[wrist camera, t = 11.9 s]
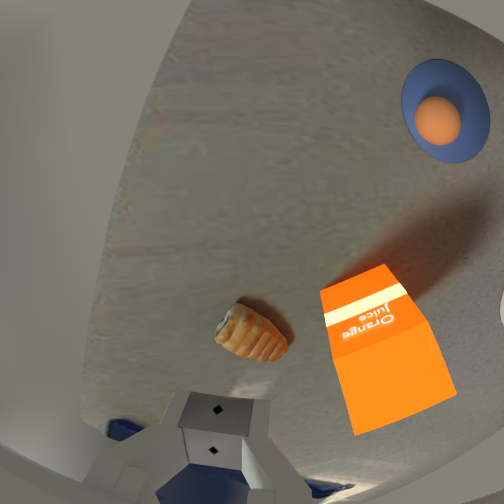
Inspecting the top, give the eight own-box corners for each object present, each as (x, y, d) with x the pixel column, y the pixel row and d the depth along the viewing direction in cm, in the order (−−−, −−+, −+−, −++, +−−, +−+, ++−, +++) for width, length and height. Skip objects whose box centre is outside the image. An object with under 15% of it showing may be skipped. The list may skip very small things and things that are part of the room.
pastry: (298, 329, 41) (298, 346, 38) (271, 364, 44) (270, 381, 40) (235, 296, 41) (230, 310, 37) (212, 333, 43) (205, 349, 39)
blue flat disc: (487, 74, 28) (488, 74, 28) (486, 170, 32) (487, 170, 32) (400, 49, 29) (401, 49, 29) (399, 154, 33) (400, 154, 33)
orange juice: (399, 313, 39) (458, 420, 20) (338, 338, 41) (363, 459, 22) (384, 262, 37) (454, 358, 18) (318, 289, 39) (339, 406, 20)
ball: (476, 117, 26) (444, 84, 25) (458, 157, 28) (424, 126, 26) (448, 116, 31) (417, 88, 30) (431, 152, 33) (398, 125, 32)
